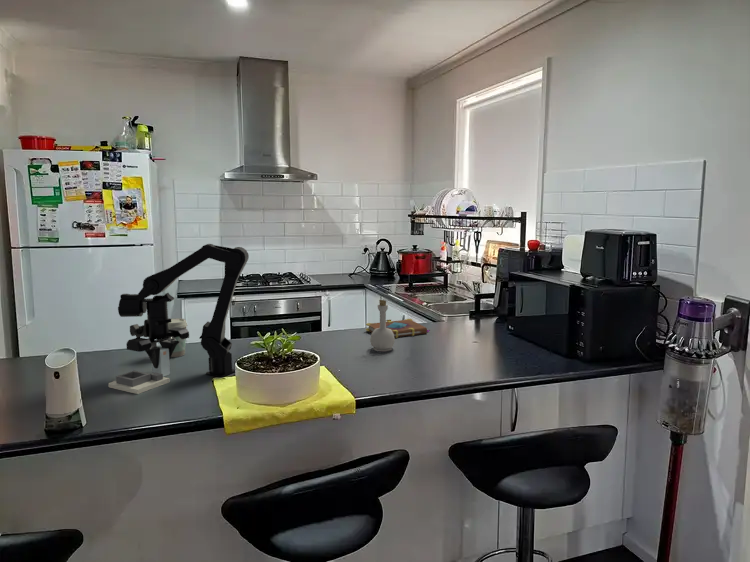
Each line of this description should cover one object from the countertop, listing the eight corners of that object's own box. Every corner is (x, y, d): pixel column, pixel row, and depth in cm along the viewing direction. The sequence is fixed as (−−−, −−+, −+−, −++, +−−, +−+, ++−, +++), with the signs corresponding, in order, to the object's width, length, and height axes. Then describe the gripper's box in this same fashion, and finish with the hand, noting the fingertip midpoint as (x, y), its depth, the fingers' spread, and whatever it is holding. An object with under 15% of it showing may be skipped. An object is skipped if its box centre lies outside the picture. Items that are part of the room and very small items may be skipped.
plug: (170, 374, 163) (168, 348, 161) (161, 377, 160) (160, 351, 159) (160, 372, 164) (159, 346, 163) (152, 375, 162) (150, 349, 160)
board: (169, 382, 156) (169, 371, 155) (137, 394, 146) (137, 382, 145) (141, 376, 161) (140, 365, 161) (108, 387, 151) (107, 376, 151)
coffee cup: (180, 359, 178) (178, 324, 177) (157, 357, 180) (155, 322, 178) (193, 352, 187) (192, 318, 185) (171, 350, 188) (169, 317, 187)
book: (437, 335, 214) (437, 323, 213) (381, 342, 203) (381, 330, 202) (416, 325, 228) (417, 314, 227) (364, 331, 218) (364, 319, 217)
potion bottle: (366, 350, 188) (366, 300, 185) (376, 344, 196) (376, 296, 193) (390, 353, 185) (390, 302, 182) (398, 347, 193) (399, 298, 190)
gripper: (163, 308, 171) (166, 355, 174) (111, 319, 155) (115, 371, 157) (189, 311, 166) (191, 359, 169) (138, 323, 150) (141, 377, 152)
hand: (160, 366), depth 162 cm, fingers closed on plug, 3 cm apart
